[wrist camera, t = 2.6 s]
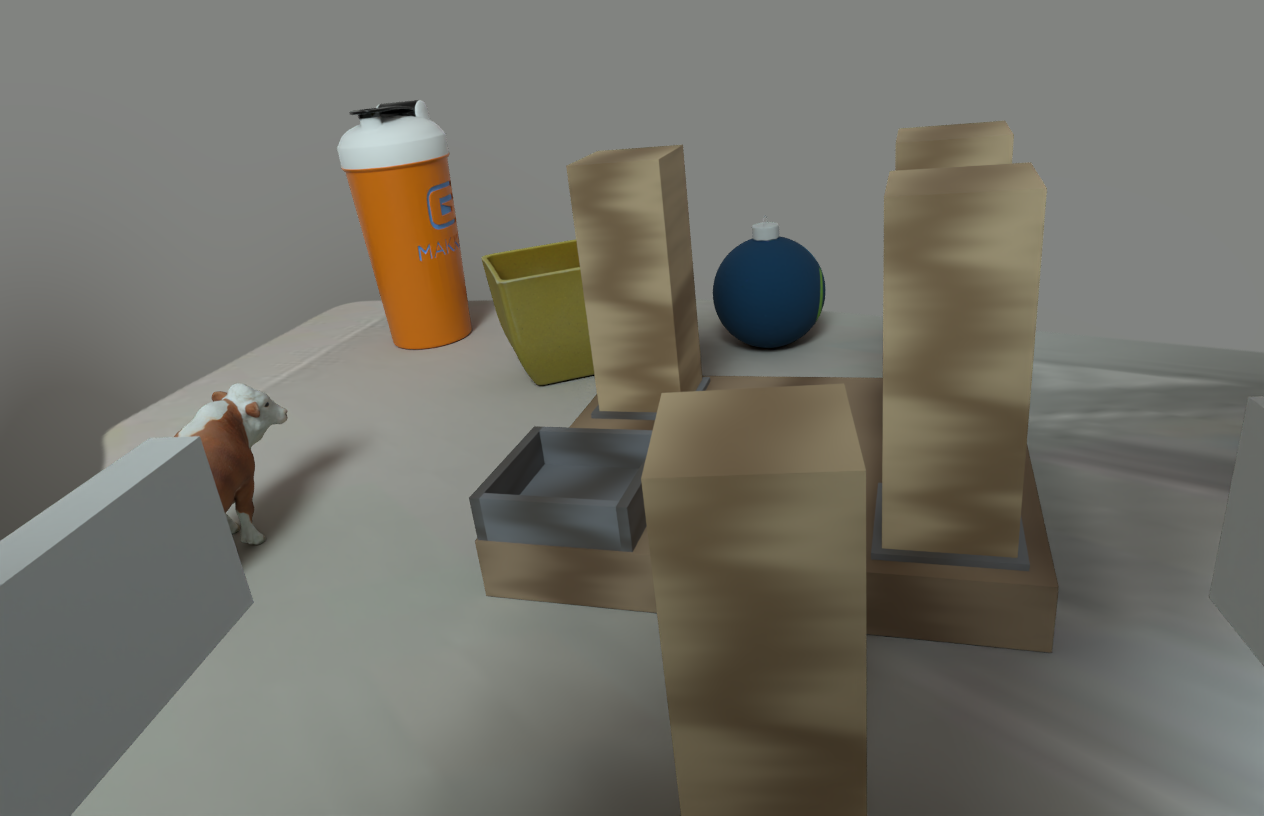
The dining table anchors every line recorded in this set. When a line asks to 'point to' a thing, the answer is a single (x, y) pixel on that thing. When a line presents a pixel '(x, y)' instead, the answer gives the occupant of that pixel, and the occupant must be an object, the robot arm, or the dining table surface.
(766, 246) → the christmas ornament
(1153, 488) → the dining table surface
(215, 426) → the bull figurine
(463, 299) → the shaker bottle
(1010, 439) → the tan post-studded fixture
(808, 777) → the stool leg
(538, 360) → the flower pot
